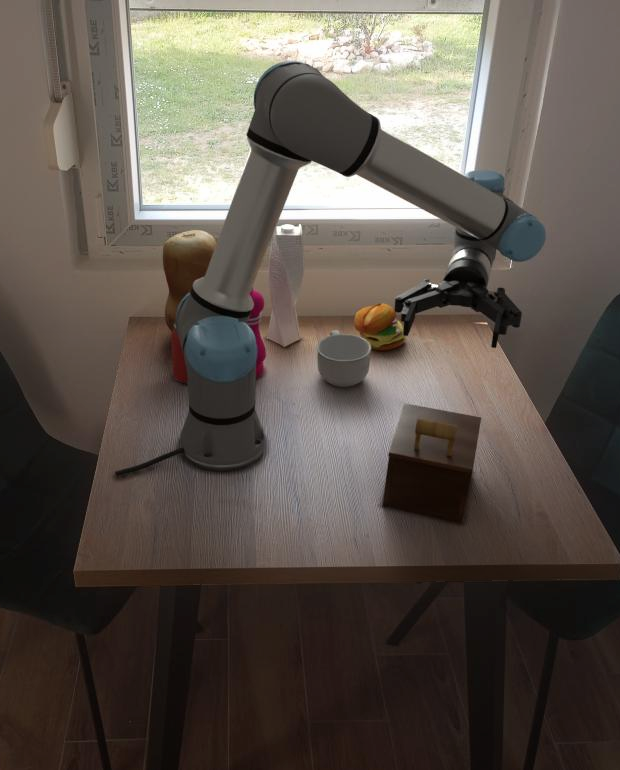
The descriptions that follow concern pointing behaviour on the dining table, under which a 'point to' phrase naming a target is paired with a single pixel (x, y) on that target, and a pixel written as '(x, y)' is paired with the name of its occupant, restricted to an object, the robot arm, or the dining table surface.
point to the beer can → (178, 358)
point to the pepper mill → (257, 328)
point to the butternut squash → (185, 266)
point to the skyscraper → (285, 283)
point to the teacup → (343, 359)
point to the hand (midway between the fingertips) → (449, 334)
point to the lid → (436, 438)
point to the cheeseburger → (379, 327)
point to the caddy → (426, 489)
